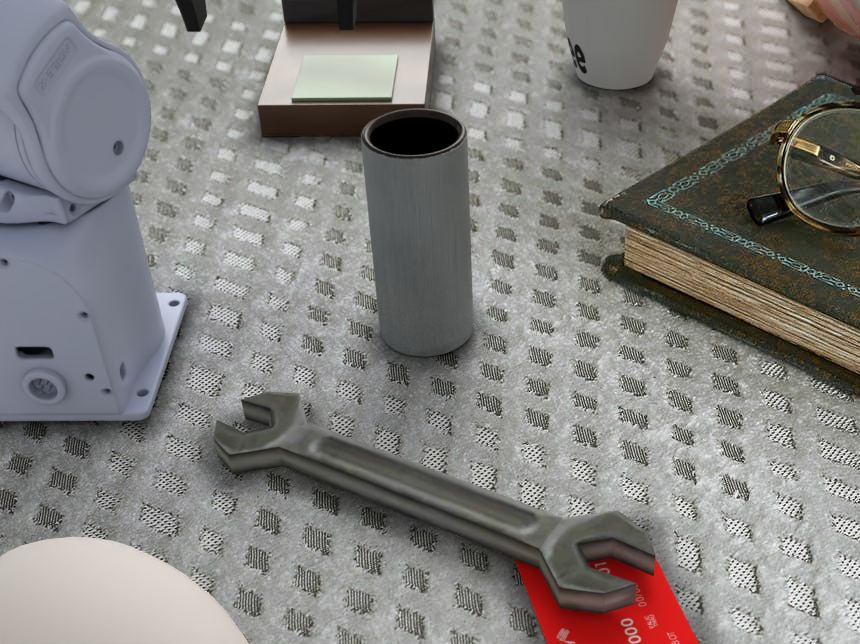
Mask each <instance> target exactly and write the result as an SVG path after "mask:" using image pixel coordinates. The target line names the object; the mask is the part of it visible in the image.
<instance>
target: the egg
mask: <svg viewBox="0 0 860 644" xmlns="http://www.w3.org/2000/svg"><path fill="white" fill-rule="evenodd" d="M0 644H250V643H249V641H248V640H247V638H246V637H245V636H244V634H243V633H242V631H241V630H240V628H239V627H238V626H237V625H236V623H235V622H234V620H233V619H232V617H230V615H229V613H228V612H227V611H226V609H225V608H224V607H223V606H222V605H221V603H220V602H218V601H217V599H215V597H214V596H213V595H212V594H210V593H209V592H208V591H207V590H206V589H204V588H203V587H202V586H200V585H199V584H198V583H197V582H195V581H194V580H193V579H192V578H190V577H188V576H187V575H186V574H185V573H183V572H182V571H180V570H178V569H177V568H175V567H173V566H172V565H170V564H169V563H168V562H165V561H163V560H161V559H160V558H157V557H155V556H154V555H150V554H148V553H146V552H145V551H142V550H139V549H137V548H135V547H133V546H130V545H129V544H125V543H122V542H118V541H114V540H110V539H104V538H96V537H88V536H87V537H86V536H65V537H57V538H46V539H41V540H38V541H33V542H30V543H25V544H22V545H18V546H17V547H15V548H13V549H11V550H9V551H7V552H5V553H3V554H2V555H1V556H0Z"/></svg>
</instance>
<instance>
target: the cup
mask: <svg viewBox="0 0 860 644" xmlns="http://www.w3.org/2000/svg"><path fill="white" fill-rule="evenodd" d="M678 3H679V0H561V5H562V13H563V21H564V27H565V35H566V39H567V43H568V47H569V50H570V54H571V59H572V61H573V65H574V69H575V72H576V75H577V77H578V78H579V79H580V81H581V82H583V83H585V84H587V85H589V86H592V87H594V88H600V89H604V90H629V89H635V88H638V87H642V86H644V85H646V84H648V83H649V82H650V81H651V80H652V78H653V76H654V74H655V72H656V69H657V67H658V65H659V62H660V60H661V58H662V56H663V52H664V50H665V48H666V46H667V43H668V40H669V37H670V33H671V29H672V25H673V22H674V18H675V14H676V11H677V6H678Z"/></svg>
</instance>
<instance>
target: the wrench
mask: <svg viewBox="0 0 860 644" xmlns="http://www.w3.org/2000/svg"><path fill="white" fill-rule="evenodd" d="M240 401H241V406H242V410H243V415H244V416H243V417H244V419H245V420H247V421H250V422H253V423H255V424H260V425H262V426H265V427H262V428H257V429H252V430H247V431H243V430H241V429H238V428H236V427H233V426H232V425H230V424H227V423H226V422H223V421H220V420H218V419H216V420H215V427H214V432H213V437H212V438H213V442H214V447H215V451H216V454H217V458H218V459H219V461H221V463H222V464H223V465H224V466H225V467H226V468H227V469H228V471H230V473H231V474H232V475H233V476H234V475H240V474H241V475H242V474H246V473H253V472H254V473H255V472H261V471H266V470H272V469H273V470H274V469H278V468H284V469H288V470H290V471H293V472H296V473H298V474H300V475H303V476H305V477H308V478H310V479H313V480H315V481H318V482H320V483H323V484H324V485H328V486H330V487H332V488H335V489H337V490H339V491H340V490H341V491H342V492H345V493H347V494H351V495H352V496H356V497H358V498H360V499H363V500H365V501H368V502H371V503H373V504H375V505H378V506H380V507H383V508H385V509H387V510H391V511H393V512H395V513H398V514H400V515H402V516H406V517H408V518H410V519H413V520H415V521H418V522H421V523H423V524H425V525H428V526H430V527H433V528H436V529H438V530H441V531H444V532H446V533H448V534H451V535H453V536H456V537H458V538H461V539H463V540H465V541H468V542H471V543H474V544H475V545H478V546H481V547H483V548H485V549H488V550H491V551H494V552H496V553H498V554H501V555H504V556H505V557H508V558H511V559H513V560H515V559H516V560H518V561H521V562H523V563H526V564H528V565H531V566H533V567H536V568H538V569H540V571H541V573H542V575H543V577H544V579H545V581H546V583H547V585H548V587H549V589H550V591H551V593H552V595H553V597H554V598H555V600H556V602H557V604H558V606H559V608H561V609H569V610H577V611H585V612H593V613H602V614H605V613H608V612H611V611H614V610H617V609H621V608H624V607H627V606H630V605H633V604H635V599H636V586H637V583H634V582H631V581H628V580H625V579H622V578H620V577H617V576H614V575H611V574H608V573H605V572H602V571H599V570H596V569H593V568H591V567H590V565H589V563H588V562H592V561H598V560H603V559H609V558H612V559H615V560H617V561H619V562H622V563H624V564H626V565H629V566H631V567H633V568H636V569H638V570H640V571H642V572H645V573H647V574H649V575H652V576H654V569H655V557H656V553H655V550H654V549H655V548H654V547H653V545H652V544H653V543H652V541H651V538H650V534H649V532H648V531H647V530H646V529H645V528H642V526H640V525H638V524H637V523H636V522H634V521H633V520H631V518H629V517H627V516H626V515H625V514H624V513H622V512H621V511H619V510H611V511H604V512H603V511H602V512H596V513H589V514H583V515H582V514H581V515H575V516H568V517H567V516H566V517H561V516H559V515H557V514H554V513H551V512H549V511H546V510H542V509H541V508H538V507H534V506H532V505H530V504H527V503H524V502H521V501H518V500H516V499H514V498H512V497H508V496H505V495H503V494H500V493H498V492H495V491H492V490H490V489H487V488H485V487H482V486H480V485H477V484H474V483H471V482H469V481H466V480H463V479H461V478H458V477H456V476H453V475H451V474H447V473H444V472H442V471H439V470H436V469H434V468H431V467H429V466H426V465H423V464H421V463H418V462H416V461H413V460H411V459H408V458H405V457H402V456H400V455H397V454H394V453H391V452H389V451H386V450H383V449H381V448H378V447H376V446H373V445H370V444H367V443H365V442H362V441H360V440H356V439H354V438H353V437H349V436H346V435H344V434H341V433H339V432H336V431H333V430H331V429H328V428H325V427H322V426H319V425H317V424H315V423H312V422H309V421H308V420H307V416H306V412H305V408H304V406H303V402H302V399H301V394H300V392H299V393H298V392H297V393H295V392H281V391H265V392H262V393H258V394H254V395H250V396H248V397H245V398H241V399H240Z"/></svg>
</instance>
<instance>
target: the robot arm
mask: <svg viewBox="0 0 860 644" xmlns="http://www.w3.org/2000/svg"><path fill="white" fill-rule="evenodd" d="M174 1H175V3H176V6H177V8H178V10H179V13H180V15H181V19H182V20H183V21H182V22H183V23H184V27H185V29H186V30H185V31H186V32H188V33H200V32H202V29H203V27H204V25H205V22H206V20H207V17H208V12H207V11H208V10H207V1H206V0H174ZM337 15H338V22H339V29H340V30H353V29H354V26H355V21H356V16H357V12H356V0H337ZM84 25H85V24H83V23H82V22H81V20H80V19H79V17H78V16H77V15H76V14H75V12H74V10H72V8H71V7H70V5H69V4H68V3H67V2H65V0H0V422H88V421H89V422H116V421H117V422H121V421H122V422H124V421H125V422H127V421H132V422H134V421H135V422H136V421H137V422H138V421H143V420H145V419H147V418H148V417H149V416H150V415H151V413H152V410H153V408H154V404H155V402H156V398H157V396H158V393H159V389H160V387H161V383H162V380H163V378H164V375H165V371H166V369H167V366H168V363H169V359H170V357H171V355H172V351H173V348H174V345H175V342H176V340H177V336H178V334H179V330H180V328H181V324H182V321H183V318H184V315H185V312H186V309H187V306H188V298H187V295H186V294H185V293H182V292H157V291H156V287H155V283H154V279H153V274H152V271H151V267H150V263H149V259H148V255H147V251H146V246H145V242H144V238H143V236H142V235H143V234H142V231H141V227H140V222H139V219H138V215H137V212H136V207H135V203H134V200H133V199H134V198H133V196H132V191H131V187H130V184H132V183H133V182H134V181H136V180H137V178H139V175H138V170H139V168H140V167H141V164H142V162H143V160H144V158H145V155H146V152H147V149H148V145H149V142H150V135H151V130H152V106H151V104H152V103H151V99H150V93H149V89H148V85H147V83H146V79H145V77H144V75H143V73H142V70H141V69H140V67H139V66H138V64H137V62H136V61H135V59H133V58H132V57H131V56H130V54H129V53H128V52H127V51H125V50H123V48H121V47H119V46H118V45H117V44H115V43H112V42H110V41H108V40H105V39H102V38H100V37H98V36H96V34H95V35H94V34H93V33H92V32H91V31H89V30H88V29H87V28H86V26H84Z"/></svg>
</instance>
